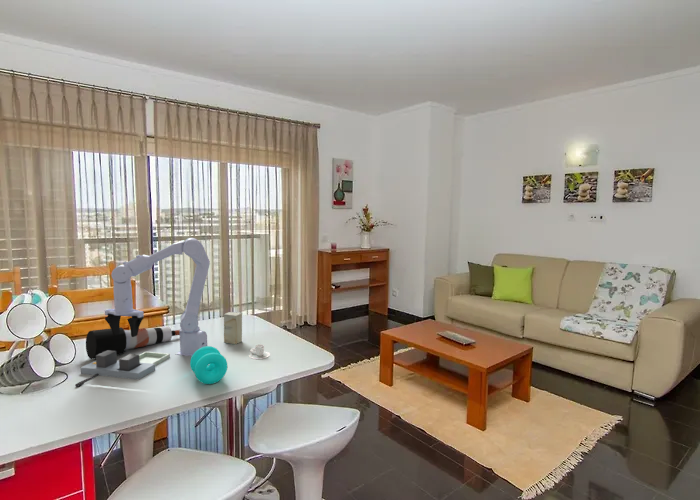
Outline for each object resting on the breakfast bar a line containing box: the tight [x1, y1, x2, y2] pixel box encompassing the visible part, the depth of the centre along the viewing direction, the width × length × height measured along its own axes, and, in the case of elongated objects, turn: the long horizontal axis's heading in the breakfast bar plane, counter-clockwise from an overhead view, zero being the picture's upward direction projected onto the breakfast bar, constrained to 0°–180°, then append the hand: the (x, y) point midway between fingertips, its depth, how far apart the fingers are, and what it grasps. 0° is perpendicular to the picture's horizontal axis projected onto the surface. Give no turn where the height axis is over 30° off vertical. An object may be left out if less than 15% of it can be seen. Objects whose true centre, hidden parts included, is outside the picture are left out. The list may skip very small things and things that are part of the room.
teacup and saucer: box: [248, 343, 271, 360], centre depth 152 cm, size 9×8×4 cm
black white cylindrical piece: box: [85, 326, 180, 360], centre depth 159 cm, size 10×34×10 cm, turn 139°
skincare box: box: [223, 311, 243, 345], centre depth 166 cm, size 6×4×12 cm
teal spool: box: [189, 345, 228, 385], centre depth 130 cm, size 10×10×10 cm
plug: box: [118, 353, 140, 371], centre depth 134 cm, size 4×5×6 cm
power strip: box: [74, 350, 156, 388], centre depth 131 cm, size 22×16×6 cm
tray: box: [138, 351, 171, 367], centre depth 144 cm, size 10×10×2 cm
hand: (125, 335), depth 145 cm, fingers open, 7 cm apart
